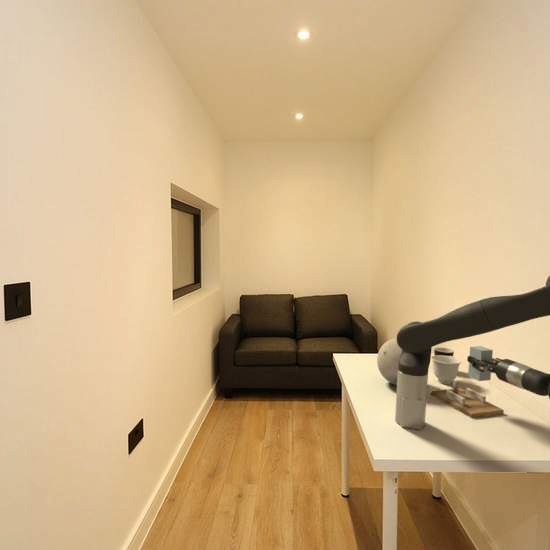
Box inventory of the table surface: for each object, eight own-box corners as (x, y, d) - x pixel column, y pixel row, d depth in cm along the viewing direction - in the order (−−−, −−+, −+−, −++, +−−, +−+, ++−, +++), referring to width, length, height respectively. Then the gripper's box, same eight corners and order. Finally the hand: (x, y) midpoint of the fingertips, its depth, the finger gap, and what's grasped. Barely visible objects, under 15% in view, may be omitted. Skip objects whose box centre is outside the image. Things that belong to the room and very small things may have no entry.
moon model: (418, 399, 136) (421, 347, 135) (368, 385, 148) (370, 338, 147) (431, 384, 152) (434, 338, 151) (385, 373, 164) (387, 330, 163)
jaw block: (490, 380, 127) (492, 350, 126) (479, 381, 126) (481, 350, 125) (479, 375, 132) (481, 346, 131) (468, 376, 131) (470, 346, 130)
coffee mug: (451, 374, 165) (452, 353, 164) (431, 370, 169) (432, 350, 168) (454, 368, 174) (455, 348, 174) (435, 364, 179) (436, 345, 178)
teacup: (465, 379, 158) (466, 358, 158) (455, 389, 147) (456, 365, 147) (436, 373, 166) (438, 352, 166) (425, 381, 155) (427, 358, 155)
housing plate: (503, 414, 125) (504, 396, 125) (471, 417, 122) (472, 399, 121) (459, 391, 145) (461, 376, 144) (430, 394, 141) (432, 378, 140)
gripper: (534, 361, 116) (490, 347, 133) (499, 364, 112) (458, 349, 129) (532, 384, 117) (489, 367, 133) (497, 387, 113) (457, 369, 129)
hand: (474, 358), depth 131 cm, fingers closed on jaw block, 5 cm apart
